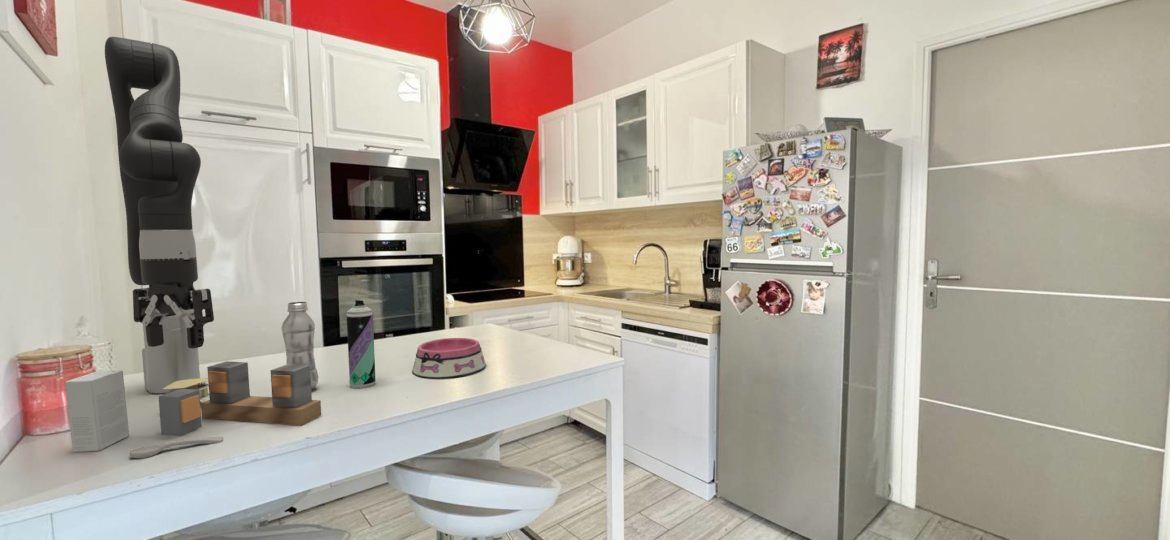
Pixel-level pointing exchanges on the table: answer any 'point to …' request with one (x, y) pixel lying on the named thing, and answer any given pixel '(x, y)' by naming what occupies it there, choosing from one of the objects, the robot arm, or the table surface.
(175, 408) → the grey block
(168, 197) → the robot arm
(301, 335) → the plastic bottle
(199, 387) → the stacked layers on plate
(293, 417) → the rail
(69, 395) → the skincare box
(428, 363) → the dog bowl
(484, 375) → the table surface
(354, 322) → the spray can
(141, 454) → the spoon
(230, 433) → the table surface
